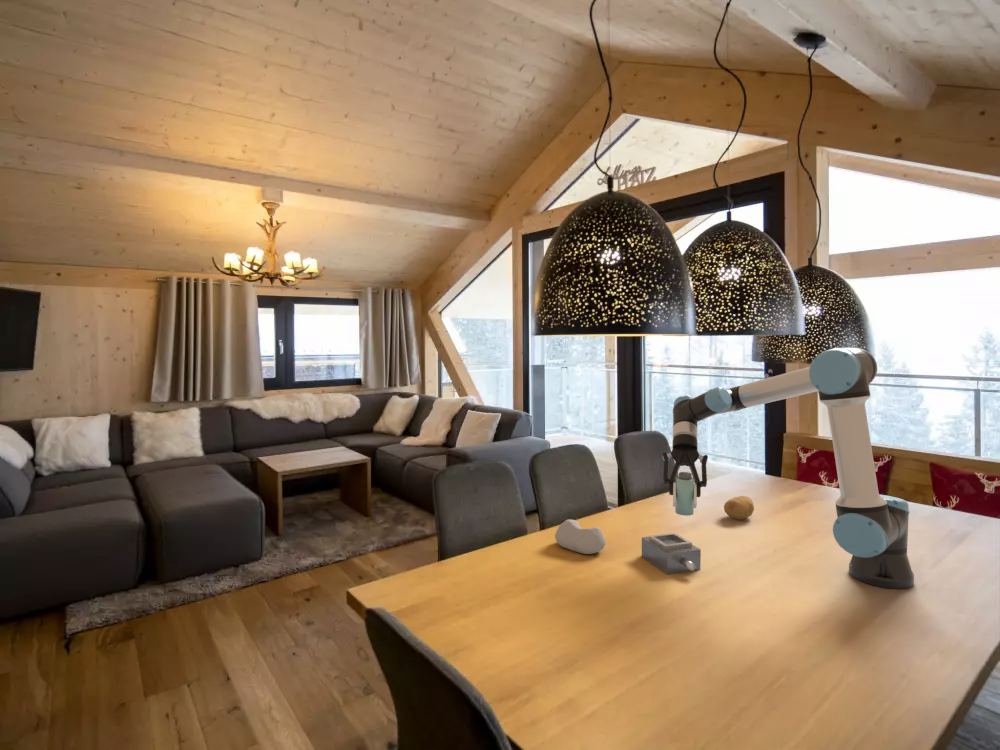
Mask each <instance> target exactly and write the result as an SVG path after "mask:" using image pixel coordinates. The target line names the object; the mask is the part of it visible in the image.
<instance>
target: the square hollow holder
mask: <svg viewBox="0 0 1000 750" xmlns="http://www.w3.org/2000/svg"><path fill="white" fill-rule="evenodd" d="M701 550H702V549H701V548H699V547H697V546H696V545H694V544H693V542H691V541H690V540H688V539H687V538H685V537H684V536H683V537H682V535H679V534H678V533H676V532H672V533H663V534H656V535H649V536H642V537H641V557H642V558H643V559H645V560H646V561H648V562H649V563H650V564H652V565H653V566H655V567H656V568H658V569H659V570H660V571H662V572H663V573H665V574H666V575H672V574H679V573H687V572H693V571H694V572H695V571H699V570H701V558H702V557H701V555H702V554H701Z"/></svg>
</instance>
